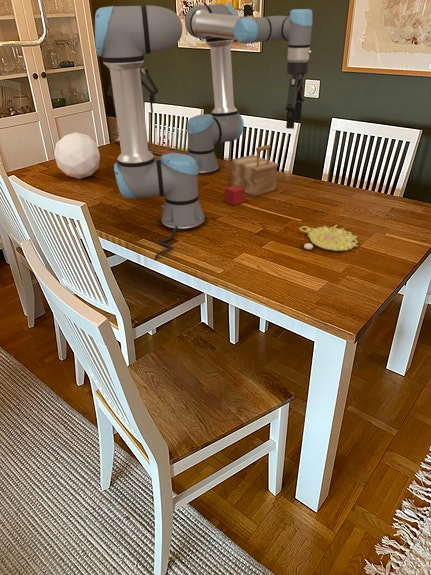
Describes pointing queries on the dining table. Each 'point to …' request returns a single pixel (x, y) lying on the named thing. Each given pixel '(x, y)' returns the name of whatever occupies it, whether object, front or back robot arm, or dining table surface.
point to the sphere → (77, 155)
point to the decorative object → (330, 238)
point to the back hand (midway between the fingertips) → (293, 124)
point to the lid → (256, 161)
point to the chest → (254, 179)
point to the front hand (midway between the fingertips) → (135, 113)
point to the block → (235, 194)
